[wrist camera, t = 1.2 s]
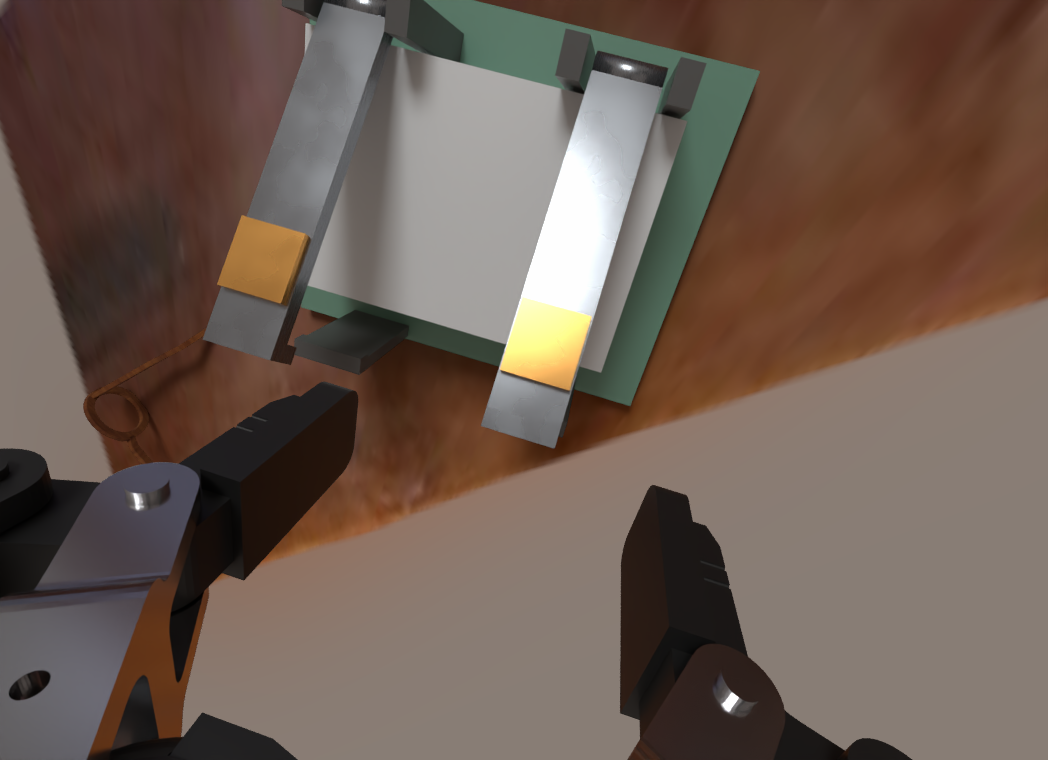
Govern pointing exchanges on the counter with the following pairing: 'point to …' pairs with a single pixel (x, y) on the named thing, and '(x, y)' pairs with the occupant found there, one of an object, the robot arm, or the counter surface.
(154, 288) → the counter surface
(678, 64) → the base
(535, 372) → the strap
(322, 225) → the strap
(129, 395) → the glasses
